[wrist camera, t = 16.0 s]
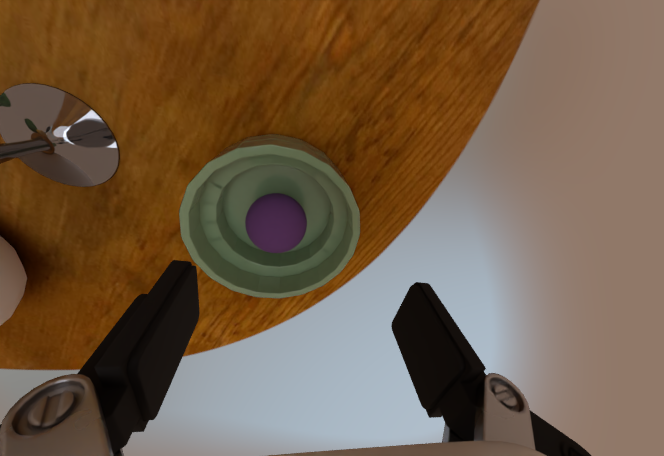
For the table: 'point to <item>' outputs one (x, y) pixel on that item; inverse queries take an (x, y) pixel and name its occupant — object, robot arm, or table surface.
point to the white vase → (10, 280)
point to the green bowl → (243, 190)
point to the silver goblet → (56, 135)
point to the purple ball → (276, 223)
